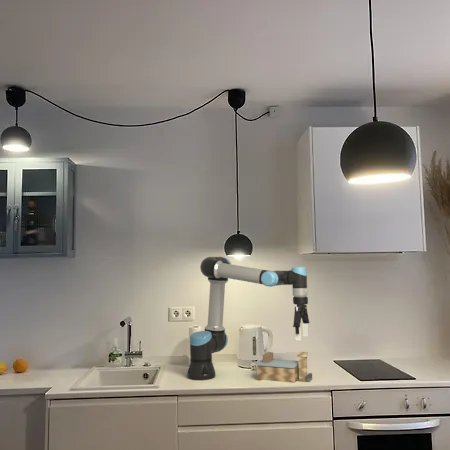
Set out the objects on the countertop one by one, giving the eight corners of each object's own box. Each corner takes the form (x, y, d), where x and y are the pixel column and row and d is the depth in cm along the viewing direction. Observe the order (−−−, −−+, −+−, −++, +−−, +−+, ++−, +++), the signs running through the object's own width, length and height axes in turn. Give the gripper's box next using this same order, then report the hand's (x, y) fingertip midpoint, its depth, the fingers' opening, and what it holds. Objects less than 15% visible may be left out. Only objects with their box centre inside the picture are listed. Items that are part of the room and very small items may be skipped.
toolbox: (257, 380, 230) (256, 366, 231) (265, 374, 242) (265, 361, 243) (307, 384, 219) (306, 370, 220) (314, 378, 231) (313, 364, 231)
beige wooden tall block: (298, 380, 225) (297, 353, 227) (300, 378, 229) (299, 351, 231) (306, 381, 224) (305, 353, 225) (308, 379, 227) (307, 352, 229)
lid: (256, 365, 231) (256, 355, 231) (265, 360, 243) (265, 350, 243) (293, 368, 222) (293, 358, 223) (301, 362, 234) (300, 353, 235)
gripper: (300, 298, 217) (302, 342, 215) (313, 294, 240) (315, 334, 238) (285, 298, 221) (287, 341, 219) (299, 294, 243) (301, 334, 241)
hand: (302, 338), depth 228 cm, fingers open, 13 cm apart
